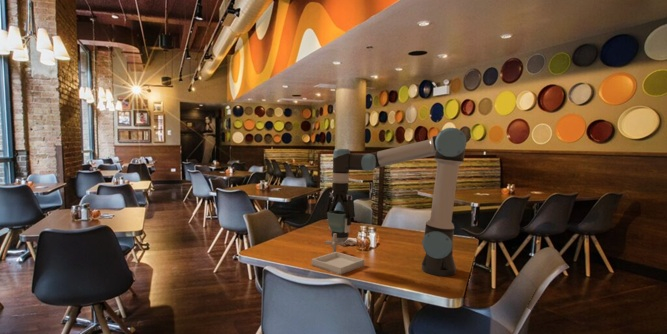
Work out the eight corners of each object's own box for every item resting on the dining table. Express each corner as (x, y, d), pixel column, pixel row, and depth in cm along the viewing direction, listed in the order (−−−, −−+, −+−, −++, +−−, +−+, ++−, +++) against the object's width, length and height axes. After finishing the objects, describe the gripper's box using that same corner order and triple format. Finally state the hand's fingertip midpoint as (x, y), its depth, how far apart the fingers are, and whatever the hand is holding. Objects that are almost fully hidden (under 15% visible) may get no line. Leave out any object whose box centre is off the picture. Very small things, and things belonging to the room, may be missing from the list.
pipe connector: (342, 256, 185) (342, 236, 185) (323, 254, 187) (323, 235, 187) (345, 250, 195) (345, 232, 195) (327, 249, 197) (327, 230, 197)
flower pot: (342, 234, 163) (343, 214, 163) (326, 231, 168) (326, 212, 168) (352, 231, 171) (352, 212, 170) (336, 228, 175) (336, 209, 175)
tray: (364, 265, 171) (364, 259, 171) (340, 274, 158) (340, 268, 158) (335, 257, 183) (336, 251, 182) (311, 265, 169) (311, 259, 169)
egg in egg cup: (351, 241, 215) (352, 216, 214) (342, 245, 206) (343, 218, 206) (337, 238, 221) (337, 213, 220) (327, 242, 212) (328, 216, 211)
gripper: (364, 183, 164) (362, 233, 165) (328, 179, 178) (327, 225, 179) (354, 184, 158) (352, 235, 159) (317, 180, 172) (316, 227, 174)
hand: (339, 230), depth 169 cm, fingers closed on flower pot, 9 cm apart
